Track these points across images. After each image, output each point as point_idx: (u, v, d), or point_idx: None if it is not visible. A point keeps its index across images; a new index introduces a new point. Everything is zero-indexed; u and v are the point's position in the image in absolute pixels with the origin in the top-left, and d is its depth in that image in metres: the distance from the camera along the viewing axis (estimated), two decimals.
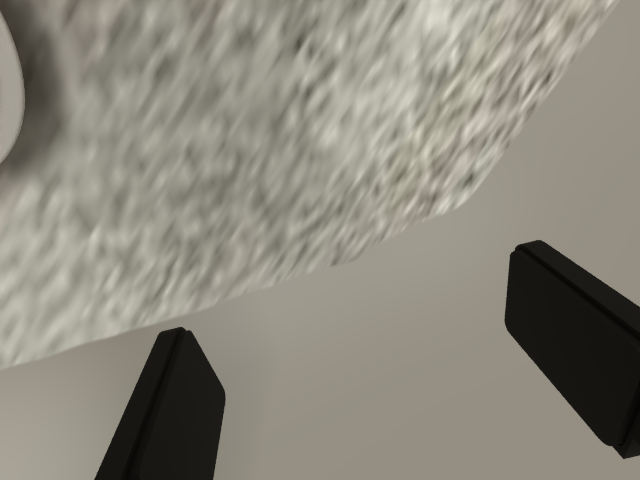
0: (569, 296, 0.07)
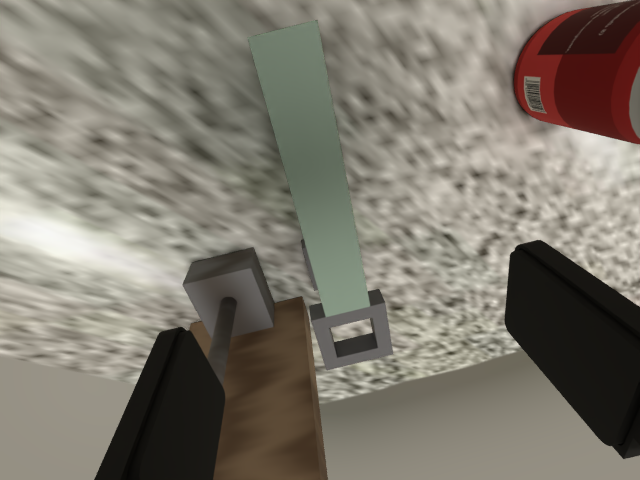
0: (569, 296, 0.07)
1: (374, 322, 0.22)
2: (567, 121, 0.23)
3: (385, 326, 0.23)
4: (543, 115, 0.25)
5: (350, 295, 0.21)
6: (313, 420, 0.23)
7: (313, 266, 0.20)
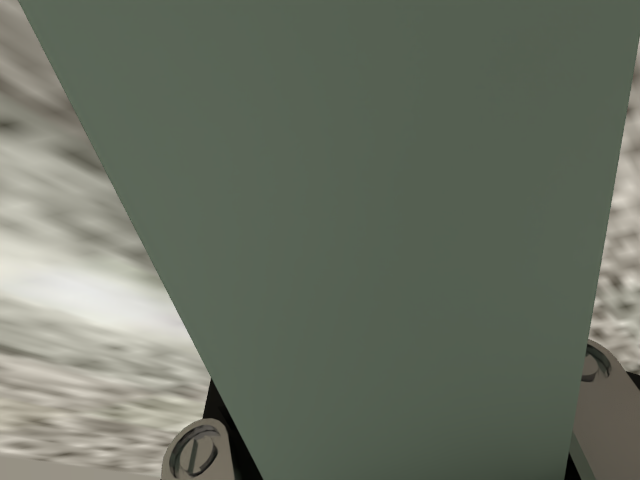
0: None
1: None
2: None
3: None
4: None
5: None
6: None
7: None
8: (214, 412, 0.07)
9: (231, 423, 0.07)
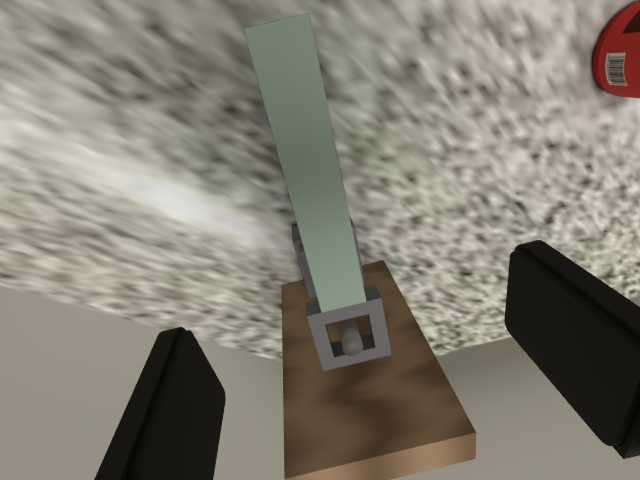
0: (569, 296, 0.07)
1: (371, 319, 0.22)
2: None
3: (382, 323, 0.22)
4: (622, 88, 0.29)
5: (346, 289, 0.21)
6: (431, 351, 0.26)
7: (308, 258, 0.20)
8: None
9: None
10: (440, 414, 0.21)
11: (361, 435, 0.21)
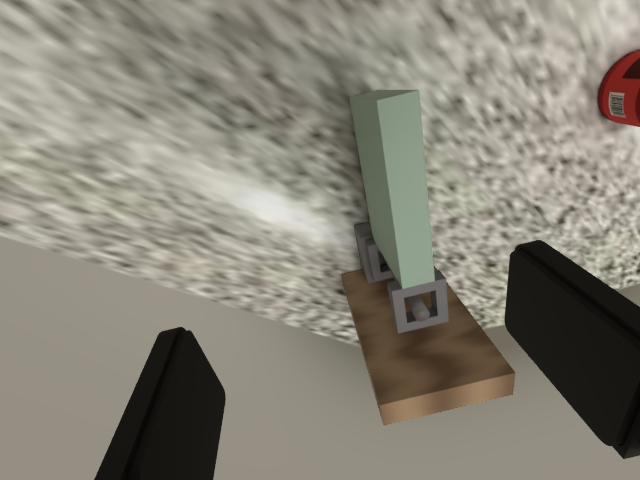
0: (569, 296, 0.07)
1: (436, 294, 0.30)
2: None
3: (444, 297, 0.30)
4: (622, 118, 0.37)
5: (421, 272, 0.29)
6: (475, 321, 0.34)
7: (398, 249, 0.28)
8: None
9: None
10: (487, 362, 0.30)
11: (431, 377, 0.30)
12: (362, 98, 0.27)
